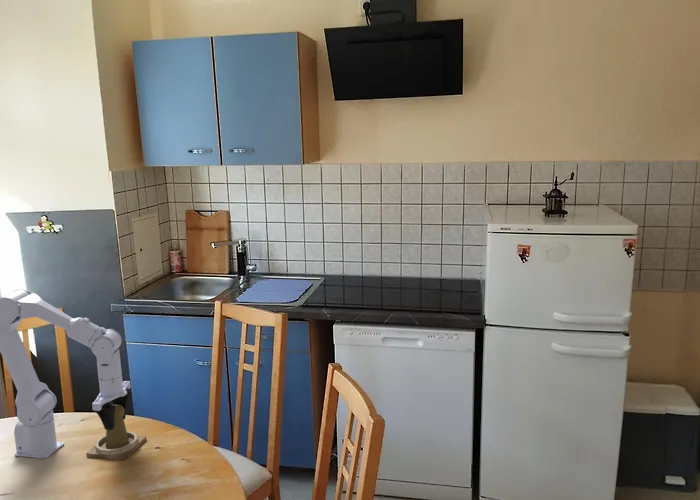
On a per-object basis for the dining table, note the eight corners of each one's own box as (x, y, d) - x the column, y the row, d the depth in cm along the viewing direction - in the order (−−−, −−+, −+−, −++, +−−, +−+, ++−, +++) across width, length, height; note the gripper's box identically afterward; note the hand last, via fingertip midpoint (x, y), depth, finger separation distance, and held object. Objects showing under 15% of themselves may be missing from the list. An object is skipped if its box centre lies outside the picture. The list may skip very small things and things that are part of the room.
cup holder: (86, 456, 157) (85, 449, 157) (110, 436, 168) (110, 429, 167) (124, 460, 155) (123, 452, 154) (146, 439, 165) (145, 432, 165)
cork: (122, 450, 158) (118, 411, 156) (101, 449, 158) (97, 411, 156) (133, 439, 164) (129, 401, 162) (112, 438, 164) (108, 401, 162)
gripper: (107, 388, 150) (113, 438, 152) (138, 366, 164) (142, 412, 166) (82, 386, 151) (88, 436, 153) (115, 365, 165) (120, 411, 167)
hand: (115, 423), depth 160 cm, fingers closed on cork, 5 cm apart
